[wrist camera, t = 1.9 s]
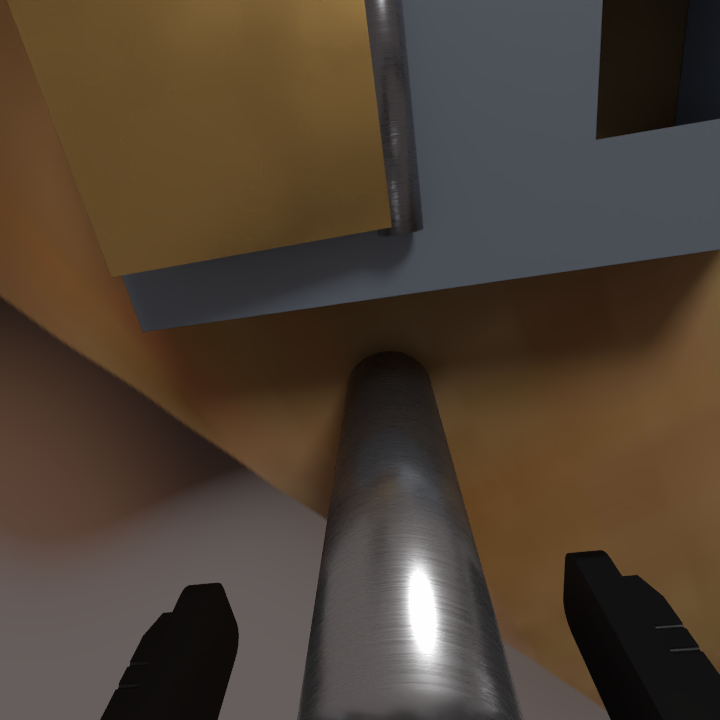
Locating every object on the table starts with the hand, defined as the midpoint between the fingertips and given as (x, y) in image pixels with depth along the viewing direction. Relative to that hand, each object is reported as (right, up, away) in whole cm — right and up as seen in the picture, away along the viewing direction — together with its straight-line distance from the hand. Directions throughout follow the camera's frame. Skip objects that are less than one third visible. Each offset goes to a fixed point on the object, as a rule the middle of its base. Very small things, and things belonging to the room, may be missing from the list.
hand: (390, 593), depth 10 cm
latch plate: (-4, +12, 0) cm, 13 cm away
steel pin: (+1, +4, +10) cm, 11 cm away
